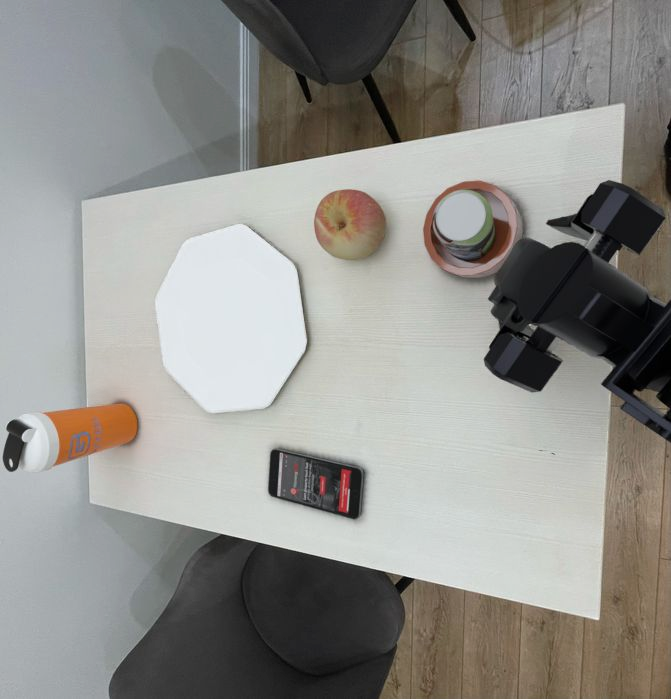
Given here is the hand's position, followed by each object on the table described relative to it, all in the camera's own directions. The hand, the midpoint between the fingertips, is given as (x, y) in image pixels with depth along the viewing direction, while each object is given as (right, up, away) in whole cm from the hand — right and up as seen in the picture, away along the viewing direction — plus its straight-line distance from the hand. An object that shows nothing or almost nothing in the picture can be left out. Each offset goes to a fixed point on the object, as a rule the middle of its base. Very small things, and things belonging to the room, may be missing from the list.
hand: (523, 264), depth 55 cm
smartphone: (-22, -28, +23) cm, 42 cm away
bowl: (-2, +5, +11) cm, 12 cm away
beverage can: (-2, +5, +10) cm, 12 cm away
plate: (-35, -4, +28) cm, 45 cm away
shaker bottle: (-56, -22, +40) cm, 73 cm away
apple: (-15, +7, +18) cm, 24 cm away
